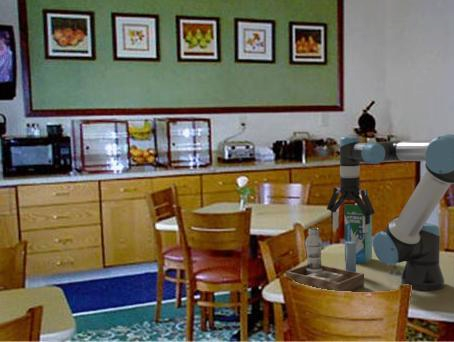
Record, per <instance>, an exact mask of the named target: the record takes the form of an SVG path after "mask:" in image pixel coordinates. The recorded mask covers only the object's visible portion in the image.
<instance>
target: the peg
mask: <svg viewBox="0 0 454 342" xmlns="http://www.w3.org/2000/svg"><path fill="white" fill-rule="evenodd" d="M345 244H346V261H345V270H348V271H353V272H357V262H356V243H355V242H346V243H345V242H344V245H345Z"/></svg>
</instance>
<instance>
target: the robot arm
mask: <svg viewBox="0 0 454 342" xmlns="http://www.w3.org/2000/svg"><path fill="white" fill-rule="evenodd" d="M360 140H361V139H360V137H359V136H342V137H341V138H340V140H339V175H340V177H339V185H340V187H339V186H337V187H333V189H332V190H333V191H332V195H331V197H330V200H329V202H328V204H327V206H326V210H327V211H330V214H331V217H330V218H331V220H332V229H334V230H335V229H338V228H339V211H338V209H339V208H340V206H341V205H342V204H343V203H344V201H353V202H354V203H357V205H358V206H359V208H360V209H361V211H362V212H363V214H364V216H363V233H366V232H368V224H370V215H375V214H376V212H375V209H374V207H373V205H372V202H371V200H370V198H369V195H368V190H367V189H361V188H360V186H361V178H360V172H361V170H360V169H361V166H360V165H361V163H363V164H364V163H365V164H369V165H373V164H376V165H377V164H380V163H381V162H383V163H384V162H395V161H396V162H397V161H398V162H408V161H409V162H425V164H424V167H425V170H426V171H425V173H424V174H423V176H422V177H421V179H420V181H419V182H418V183H417V185H416V187H415V188H414V191H413V192H412V194H411V196H410V197H409V199H408V201H407V203H406V204H405V205H404V207H403V209H402V210H401V212H400V213H399V216H398V217H397V218H396V219H392V220H391V221H390V222H389V224H388V225H387V226H386V228H385V230H383V231H378V232H376V233H375V234H374V236H373V237H372V249H373V252H374V254H375V257H376V258H377V259H378V261H380V262H381V263H383V264H385V265H396V264H399V263H403V262H405V265H404V268H403V272H402V274H401V277H400V280H401V281H400V283H401V285H402V284H409V285H412V290H419V291H435V290H440V289H442V288H444V287H445V278H444V275H443V272H442V269H441V267H440V266H441V265H440V249H441V247H440V246H441V245H440V244H441V243H440V241H441V235H440V228H439V226H438V225H436V224H433V223H428V222H427V221H428V220H429V218H430V217H431V215H432V214H433V212H434V211H435V209H436V207H437V206H438V205H439V203H440V201H441V200H442V198H443V197H444V196H445V194H446V193H447V191H448V189H449V188H450V187H451V185H454V134H452V133H449V134H445V135H441V136H436V137H435V138H433V139H432V140H431V139H427V140H424V139H423V140H420V139H419V140H399V139H398V140H391V141H389V140H388V141H377V142H376V141H375V142H374V141H373V142H361V141H360ZM339 194H341V195H339Z"/></svg>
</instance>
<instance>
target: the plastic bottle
mask: <svg viewBox="0 0 454 342" xmlns="http://www.w3.org/2000/svg"><path fill="white" fill-rule="evenodd" d="M319 234H320V233H319V228H318V227H317V228H316V227H312V228H311V227H310V228H308V236H307V238H306V239H305V242H304V243H305V244H304V245H305V249H306V250H305V251H306V265H307V268H306V275H309V274H312V273H315V272H317V271H322V270H323V269H322V265H323V264H322V248H323V240H322V239H321V237H320V236H319Z"/></svg>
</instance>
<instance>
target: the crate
mask: <svg viewBox="0 0 454 342" xmlns="http://www.w3.org/2000/svg"><path fill="white" fill-rule="evenodd" d="M306 268H307V264H304V265H302V266H299V267H296V268H292V269H289V270H287V271H285V277H286V276H288V277H290V278H292V279H293V280H294V281H295V282H298V283H300V284H304V285H308V286H312V287H316V288H321V289H327V290H335V291H353V292H355V291H358V290H361V289H362V288H365V273H362V272H357V271H356V272H353V271H348V270H346V269H341V268H337V267H333V266H332V267H331V266H327V265H323V264H322V269H323V270H322V271H317V272H315V273H312V274H309V275H306Z"/></svg>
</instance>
